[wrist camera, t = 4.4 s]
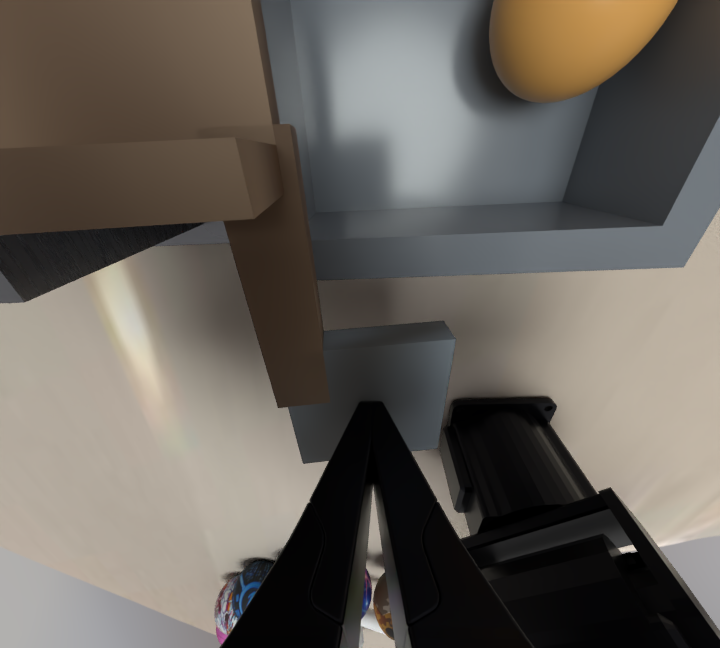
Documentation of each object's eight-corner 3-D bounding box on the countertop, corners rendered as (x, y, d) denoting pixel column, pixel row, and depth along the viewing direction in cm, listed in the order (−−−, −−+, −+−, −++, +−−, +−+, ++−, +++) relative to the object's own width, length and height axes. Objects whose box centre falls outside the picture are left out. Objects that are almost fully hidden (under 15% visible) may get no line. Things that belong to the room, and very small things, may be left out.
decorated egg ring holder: (220, 488, 34) (167, 581, 26) (509, 533, 31) (547, 651, 23) (256, 602, 50) (230, 680, 43) (447, 638, 48) (457, 728, 40)
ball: (834, -349, 3) (490, -155, 5) (661, 79, 6) (460, 105, 7) (720, -128, 6) (521, -54, 8) (634, 100, 8) (493, 115, 10)
